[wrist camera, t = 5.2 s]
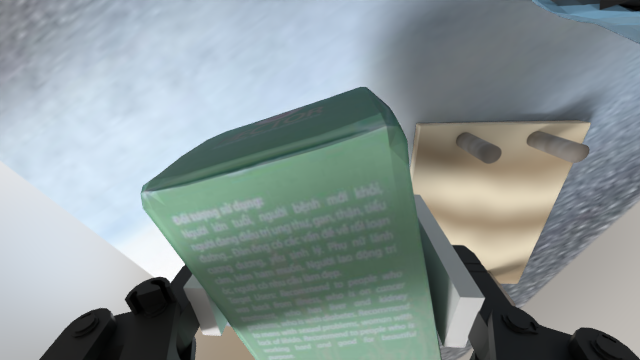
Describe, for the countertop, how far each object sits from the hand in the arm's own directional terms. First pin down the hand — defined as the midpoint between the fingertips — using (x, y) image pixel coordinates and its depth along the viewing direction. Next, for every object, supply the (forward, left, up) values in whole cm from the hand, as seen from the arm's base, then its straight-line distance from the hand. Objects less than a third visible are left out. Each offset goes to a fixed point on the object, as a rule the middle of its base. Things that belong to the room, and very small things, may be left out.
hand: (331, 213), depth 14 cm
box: (0, 0, -1) cm, 1 cm away
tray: (+6, +15, -10) cm, 19 cm away
